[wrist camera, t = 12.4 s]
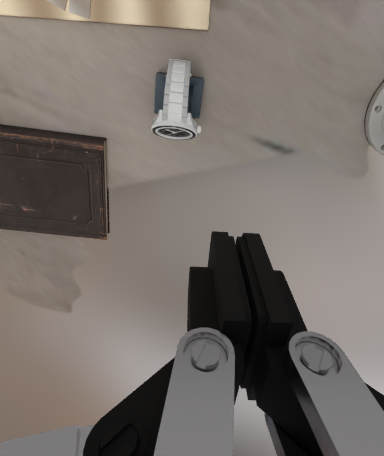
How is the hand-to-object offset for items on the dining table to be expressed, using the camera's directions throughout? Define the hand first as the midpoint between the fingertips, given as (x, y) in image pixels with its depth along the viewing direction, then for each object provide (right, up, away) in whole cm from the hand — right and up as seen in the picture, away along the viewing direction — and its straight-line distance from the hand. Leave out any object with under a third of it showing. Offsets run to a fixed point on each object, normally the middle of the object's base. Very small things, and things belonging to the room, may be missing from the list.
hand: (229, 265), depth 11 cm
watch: (-3, +19, +26) cm, 33 cm away
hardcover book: (-26, +9, +33) cm, 43 cm away
